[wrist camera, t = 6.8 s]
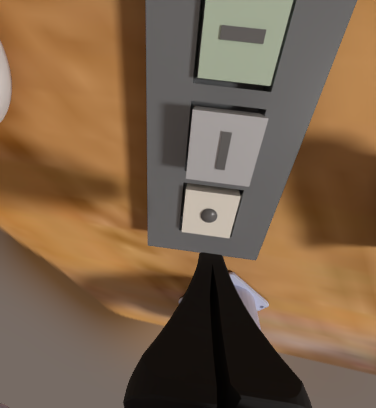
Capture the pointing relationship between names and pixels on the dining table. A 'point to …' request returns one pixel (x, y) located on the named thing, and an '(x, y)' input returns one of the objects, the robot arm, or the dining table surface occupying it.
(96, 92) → the dining table surface
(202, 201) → the cream key
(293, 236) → the dining table surface
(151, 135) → the keypad
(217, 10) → the sage key
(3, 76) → the flower in vase
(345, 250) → the dining table surface
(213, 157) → the grey key
